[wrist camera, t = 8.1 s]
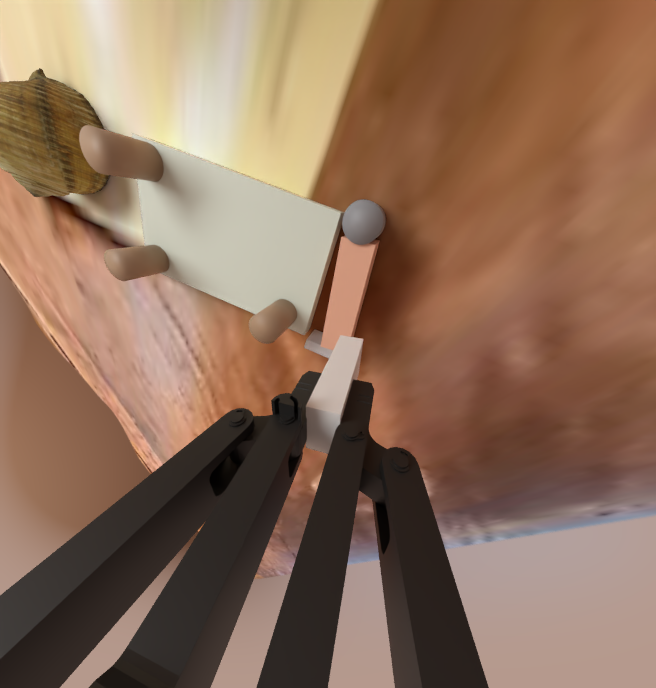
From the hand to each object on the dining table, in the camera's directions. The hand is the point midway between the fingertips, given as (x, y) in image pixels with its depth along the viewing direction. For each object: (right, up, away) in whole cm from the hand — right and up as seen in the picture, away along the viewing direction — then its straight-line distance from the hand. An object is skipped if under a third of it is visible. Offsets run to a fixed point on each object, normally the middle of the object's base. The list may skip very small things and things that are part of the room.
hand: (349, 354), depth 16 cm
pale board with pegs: (-9, +9, +7) cm, 14 cm away
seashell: (-25, +20, +7) cm, 33 cm away
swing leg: (+1, +7, +5) cm, 8 cm away
